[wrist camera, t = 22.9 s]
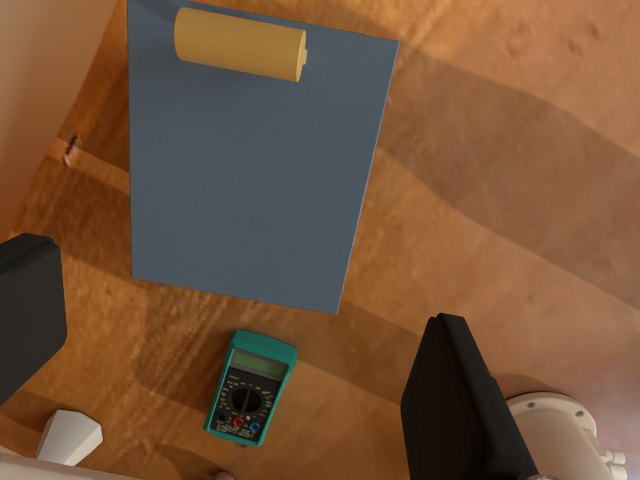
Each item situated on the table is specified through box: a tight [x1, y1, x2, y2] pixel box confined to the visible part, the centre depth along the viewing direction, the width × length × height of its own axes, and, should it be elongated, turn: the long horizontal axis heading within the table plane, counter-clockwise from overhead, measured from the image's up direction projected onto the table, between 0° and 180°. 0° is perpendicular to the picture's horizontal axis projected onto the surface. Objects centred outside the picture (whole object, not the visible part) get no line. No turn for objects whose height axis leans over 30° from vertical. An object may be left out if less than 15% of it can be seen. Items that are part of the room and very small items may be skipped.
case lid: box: [127, 0, 400, 315], centre depth 21 cm, size 16×14×6 cm
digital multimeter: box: [203, 330, 298, 446], centre depth 46 cm, size 7×15×3 cm, turn 161°
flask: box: [34, 410, 103, 466], centre depth 48 cm, size 7×7×10 cm
